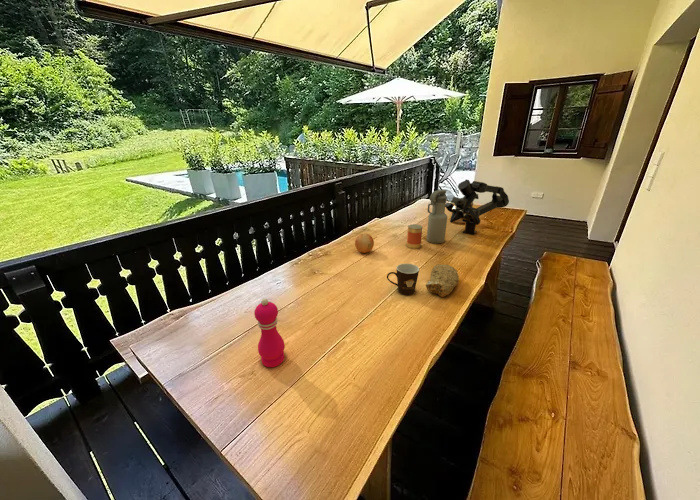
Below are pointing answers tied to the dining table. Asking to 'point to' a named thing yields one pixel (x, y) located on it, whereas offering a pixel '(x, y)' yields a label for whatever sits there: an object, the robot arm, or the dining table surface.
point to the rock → (442, 279)
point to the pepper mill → (269, 334)
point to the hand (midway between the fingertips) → (450, 222)
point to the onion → (364, 243)
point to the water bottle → (437, 217)
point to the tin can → (414, 236)
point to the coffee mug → (406, 278)
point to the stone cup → (461, 218)
